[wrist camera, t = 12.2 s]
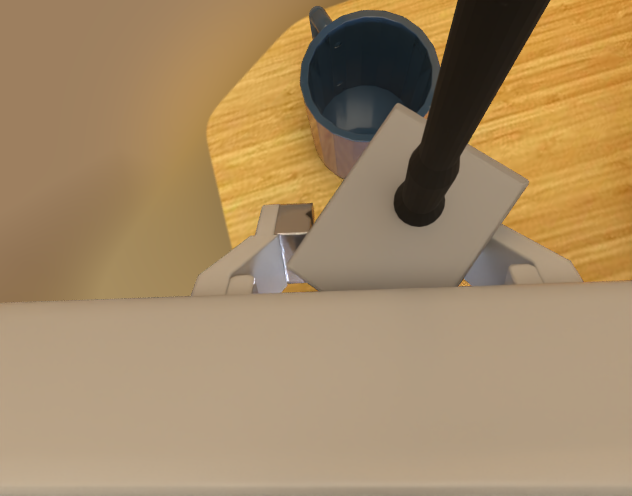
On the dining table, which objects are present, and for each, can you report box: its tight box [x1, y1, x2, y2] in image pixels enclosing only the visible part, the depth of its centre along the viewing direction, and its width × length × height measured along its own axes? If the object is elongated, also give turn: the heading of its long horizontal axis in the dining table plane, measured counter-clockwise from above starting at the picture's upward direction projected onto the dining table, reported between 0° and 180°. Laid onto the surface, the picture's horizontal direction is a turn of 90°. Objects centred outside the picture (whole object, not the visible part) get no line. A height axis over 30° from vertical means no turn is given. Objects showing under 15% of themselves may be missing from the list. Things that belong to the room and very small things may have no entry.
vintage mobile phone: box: [287, 0, 550, 292], centre depth 15 cm, size 4×5×25 cm
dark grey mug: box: [300, 6, 440, 179], centre depth 40 cm, size 14×10×12 cm
